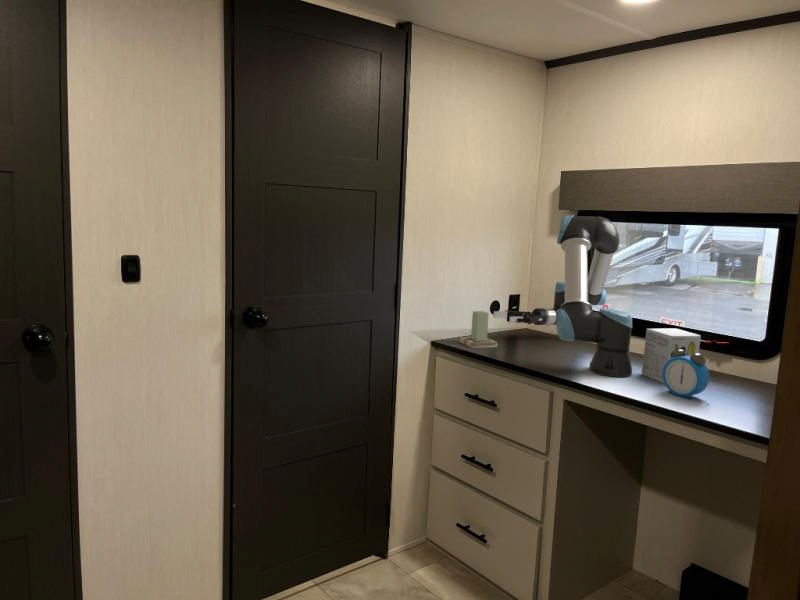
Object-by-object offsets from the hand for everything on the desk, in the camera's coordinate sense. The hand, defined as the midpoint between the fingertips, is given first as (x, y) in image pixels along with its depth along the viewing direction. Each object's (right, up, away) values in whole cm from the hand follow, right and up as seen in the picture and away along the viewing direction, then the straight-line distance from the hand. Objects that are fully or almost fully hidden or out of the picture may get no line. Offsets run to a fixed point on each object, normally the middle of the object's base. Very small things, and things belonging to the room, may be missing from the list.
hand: (501, 317), depth 264 cm
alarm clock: (+49, -24, -64) cm, 84 cm away
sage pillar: (-10, -10, -2) cm, 14 cm away
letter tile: (-10, -12, -2) cm, 16 cm away
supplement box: (+53, -21, -43) cm, 72 cm away
